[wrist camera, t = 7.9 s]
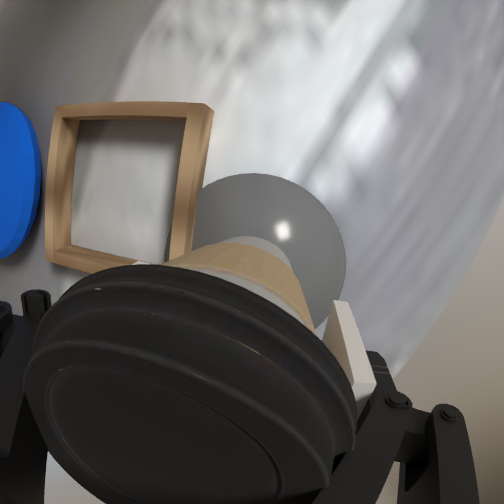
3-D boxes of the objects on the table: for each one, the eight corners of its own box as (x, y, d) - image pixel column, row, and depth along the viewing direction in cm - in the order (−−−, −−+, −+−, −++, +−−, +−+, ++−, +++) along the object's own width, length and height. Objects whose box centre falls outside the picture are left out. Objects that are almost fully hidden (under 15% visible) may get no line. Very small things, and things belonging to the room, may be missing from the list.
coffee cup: (211, 355, 22) (125, 534, 7) (157, 234, 20) (-37, 337, 6) (339, 320, 20) (382, 534, 5) (293, 182, 18) (291, 207, 4)
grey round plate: (179, 162, 21) (175, 162, 20) (361, 192, 20) (363, 193, 19) (164, 323, 25) (161, 327, 24) (320, 355, 24) (320, 361, 23)
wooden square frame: (73, 109, 21) (55, 106, 19) (214, 110, 20) (204, 103, 18) (63, 253, 25) (45, 260, 22) (191, 284, 23) (179, 296, 21)
